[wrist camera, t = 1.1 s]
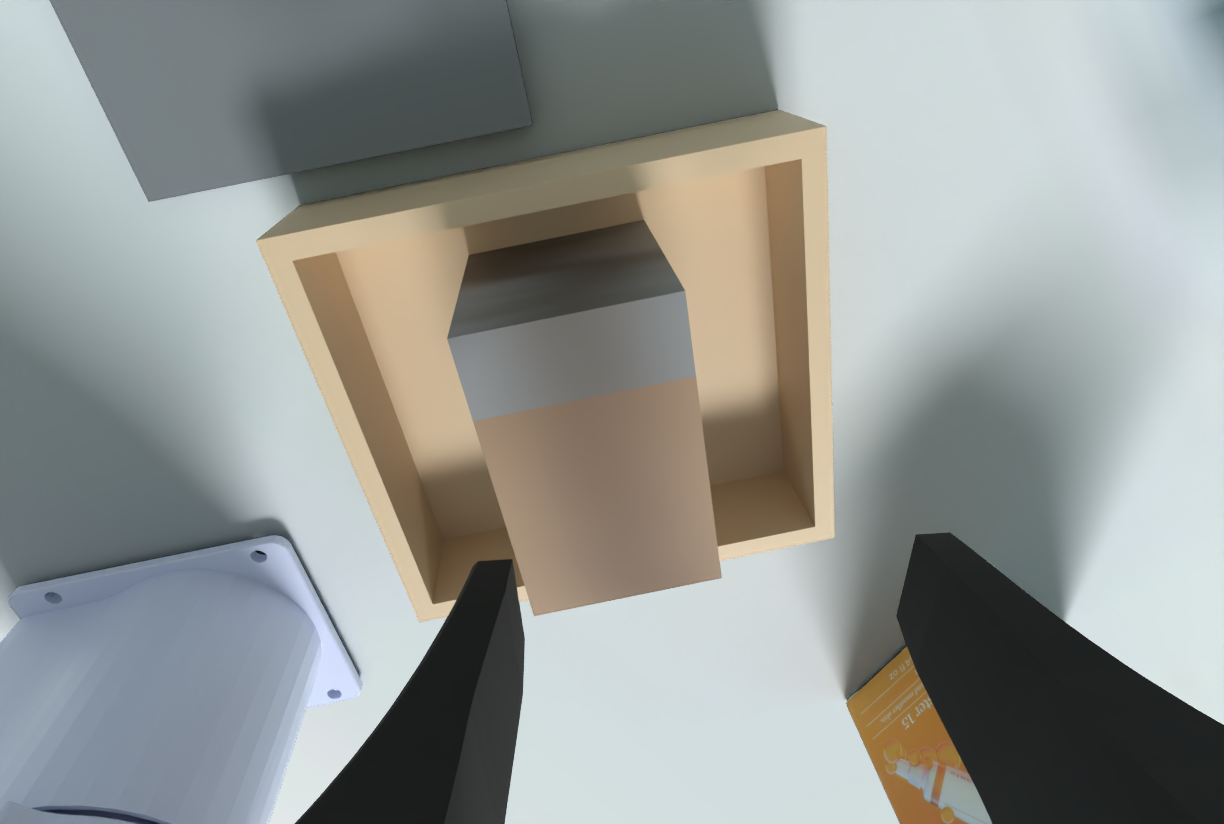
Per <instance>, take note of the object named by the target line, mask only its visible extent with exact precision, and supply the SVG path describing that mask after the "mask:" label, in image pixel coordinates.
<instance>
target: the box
mask: <svg viewBox="0 0 1224 824" xmlns="http://www.w3.org/2000/svg"><path fill="white" fill-rule="evenodd" d="M447 340H448V344H449V347H450V350H451V353H452V356H453V360H454V363H455V366H456V369H457V372H458V375H459V379H460V382H461V385H462V388H463V391H464V395H465V398H466V401H467V404H468V407H469V410H470V414H471V417H472V420H473V423H474V426H475V430H476V433H477V436H478V439H479V442H480V445H481V449H482V452H483V455H484V458H485V461H486V465H487V468H488V471H489V474H490V477H491V480H492V484H493V487H494V490H495V493H496V496H497V500H498V503H499V506H500V509H501V512H502V515H503V519H504V522H505V525H506V528H507V531H508V535H509V538H510V541H511V544H512V547H513V550H514V554H515V557H516V560H517V563H518V566H519V570H520V573H521V576H522V579H523V582H524V585H525V589H526V592H527V595H528V598H529V601H530V605H531V608H532V611H533V614H534V616H537V615H542V614H547V613H552V612H557V611H561V610H566V609H571V608H576V607H581V606H586V605H591V604H596V603H601V602H606V601H611V600H616V599H621V598H625V597H630V596H635V595H640V594H645V593H650V592H655V591H660V590H665V589H670V588H675V587H680V586H684V585H689V584H694V583H699V582H704V581H709V580H714V579H719V578H722V577H721V569H720V561H719V553H718V545H717V537H716V529H715V521H714V514H713V506H712V498H711V490H710V482H709V474H708V466H707V458H706V450H705V443H704V435H703V427H702V419H701V411H700V403H699V395H698V387H697V379H696V372H695V364H694V356H693V348H692V340H691V332H690V324H689V316H688V308H687V301H686V293H685V289H684V288H683V286H682V284H681V283H680V281H679V279H678V277H677V276H676V274H675V272H674V271H673V269H672V267H671V265H670V264H669V262H668V260H667V258H666V257H665V255H664V253H663V252H662V250H661V248H660V246H659V245H658V243H657V241H656V239H655V238H654V236H653V234H652V233H651V231H650V229H649V227H648V226H647V224H646V222H645V220H641V221H636V222H631V223H626V224H621V225H616V226H611V227H606V228H601V229H596V230H591V231H586V232H581V233H576V234H571V235H566V236H561V237H556V238H551V239H546V240H541V241H536V242H531V243H526V244H521V245H516V246H511V247H506V248H501V249H496V250H491V251H486V252H481V253H476V254H471V255H469V256H468V260H467V264H466V268H465V271H464V275H463V279H462V283H461V287H460V291H459V294H458V298H457V302H456V306H455V310H454V314H453V317H452V321H451V325H450V329H449V333H448V337H447Z"/></svg>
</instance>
